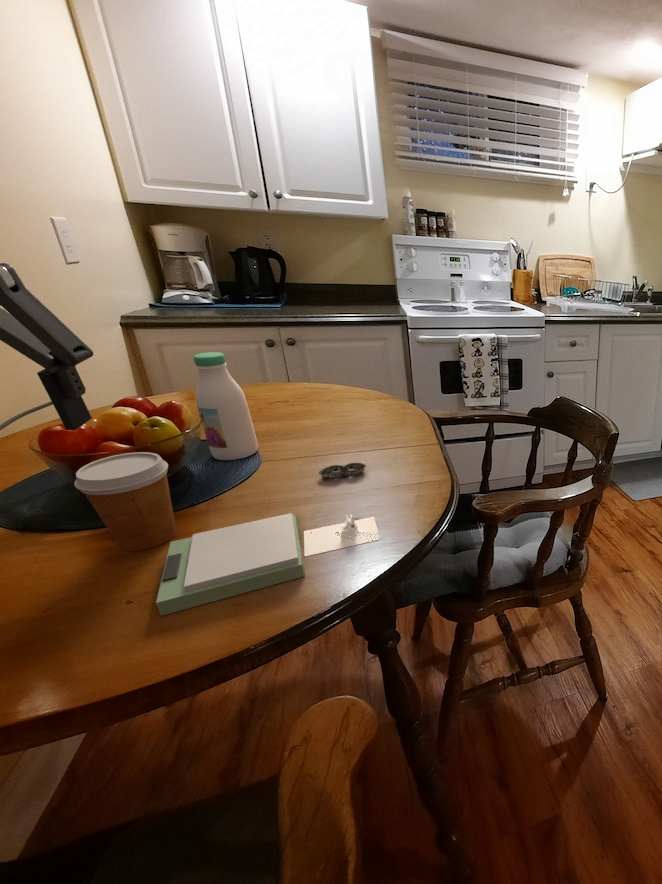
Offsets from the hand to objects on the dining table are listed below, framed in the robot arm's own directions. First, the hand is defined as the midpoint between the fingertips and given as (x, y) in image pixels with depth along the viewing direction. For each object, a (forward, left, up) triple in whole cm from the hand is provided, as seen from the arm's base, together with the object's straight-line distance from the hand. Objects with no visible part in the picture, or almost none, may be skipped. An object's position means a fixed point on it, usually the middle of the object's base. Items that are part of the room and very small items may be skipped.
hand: (2, 424), depth 52 cm
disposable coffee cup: (-11, +5, -23) cm, 26 cm away
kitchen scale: (+2, +16, -23) cm, 28 cm away
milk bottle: (-39, +15, -23) cm, 47 cm away
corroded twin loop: (-20, +32, -23) cm, 44 cm away
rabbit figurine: (+1, +29, -23) cm, 37 cm away
